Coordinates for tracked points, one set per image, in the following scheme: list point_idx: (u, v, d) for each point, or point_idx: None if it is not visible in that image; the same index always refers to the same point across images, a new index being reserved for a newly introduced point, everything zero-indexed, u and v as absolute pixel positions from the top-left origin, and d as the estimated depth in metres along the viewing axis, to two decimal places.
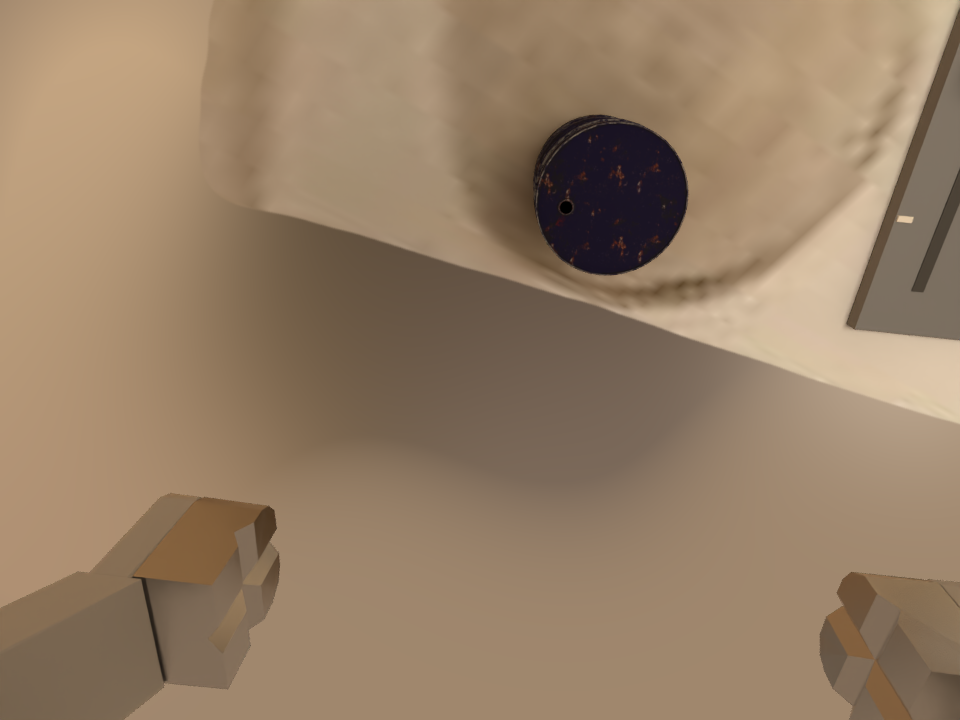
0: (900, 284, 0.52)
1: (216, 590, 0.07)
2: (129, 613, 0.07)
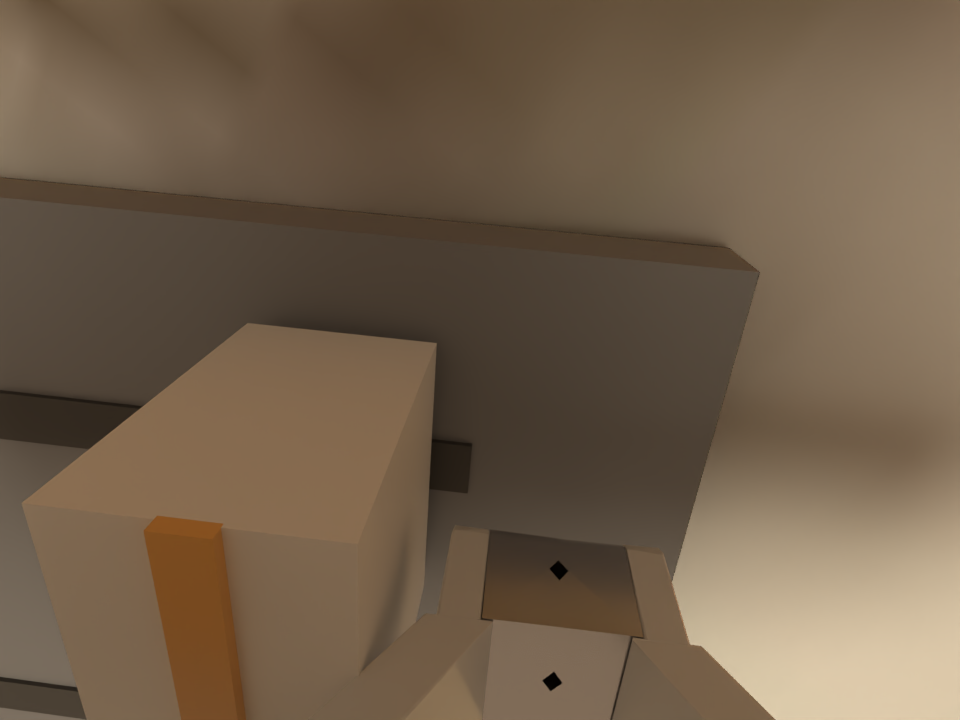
0: None
1: (560, 632, 0.07)
2: (481, 656, 0.07)
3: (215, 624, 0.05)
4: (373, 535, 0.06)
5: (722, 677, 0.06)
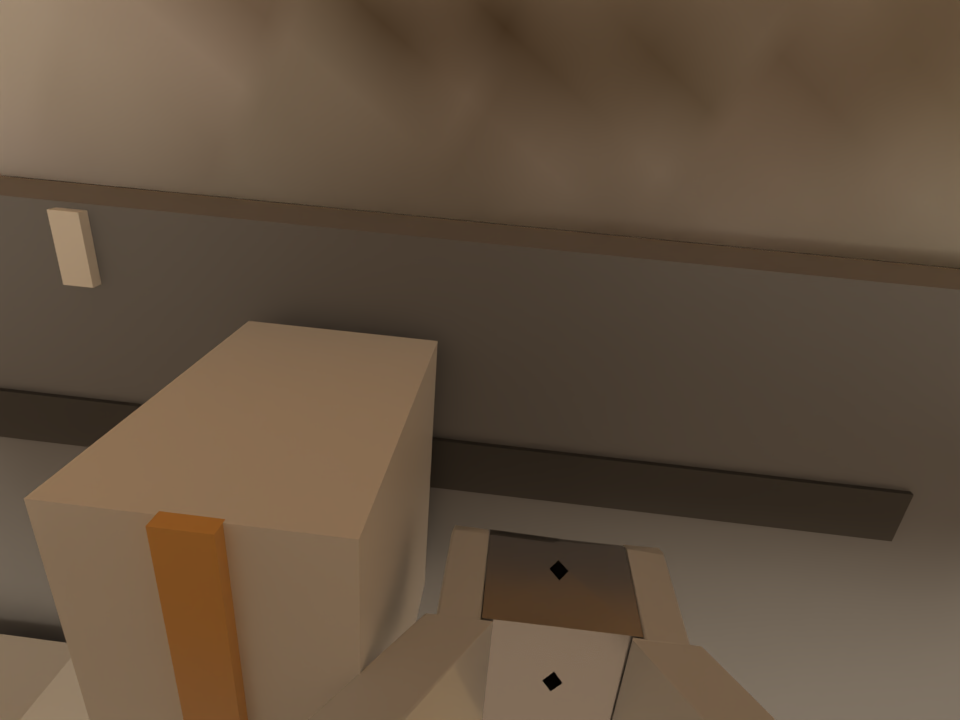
0: None
1: (560, 632, 0.07)
2: (480, 656, 0.07)
3: (216, 621, 0.05)
4: (374, 531, 0.06)
5: (722, 677, 0.06)
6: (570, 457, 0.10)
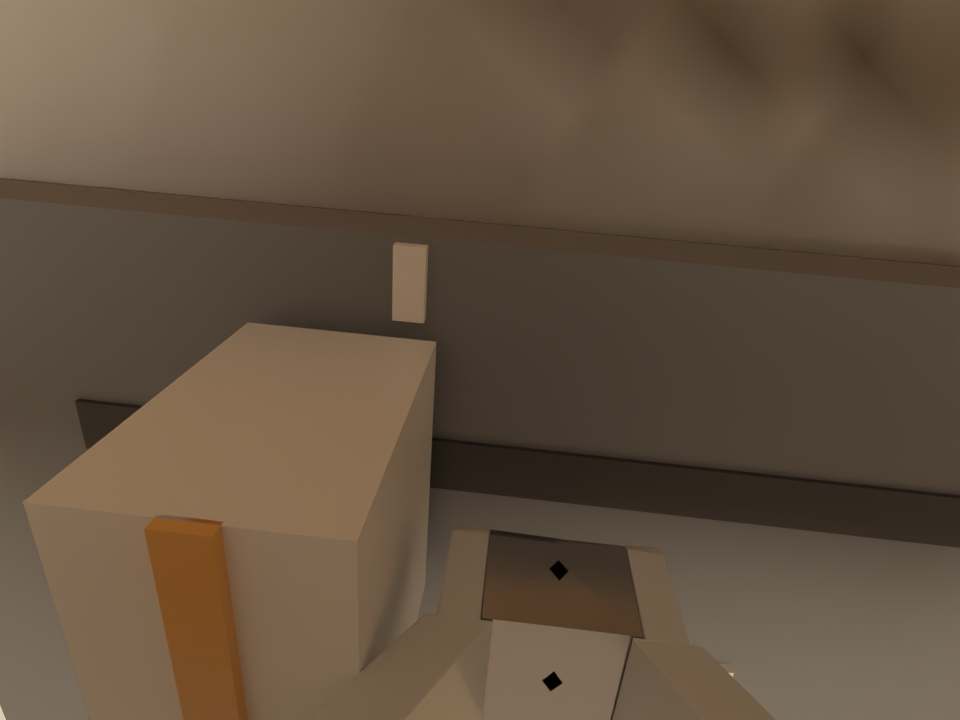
0: (92, 346, 0.10)
1: (560, 631, 0.07)
2: (480, 656, 0.07)
3: (216, 622, 0.05)
4: (373, 532, 0.06)
5: (722, 677, 0.06)
6: (890, 492, 0.10)
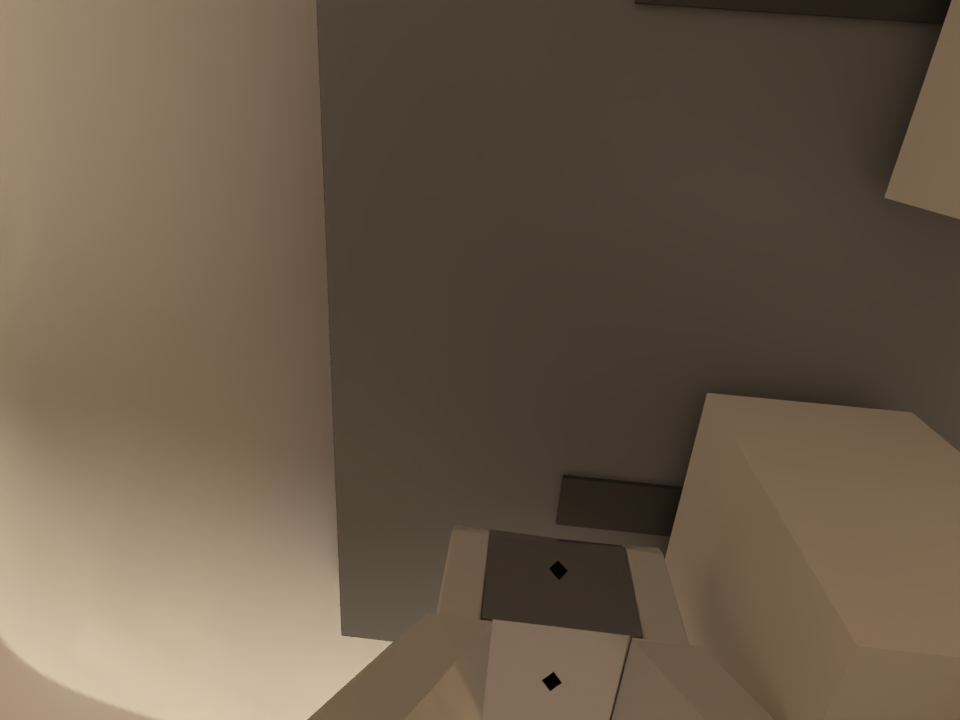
0: None
1: (560, 631, 0.07)
2: (480, 656, 0.07)
3: None
4: None
5: (721, 677, 0.06)
6: None
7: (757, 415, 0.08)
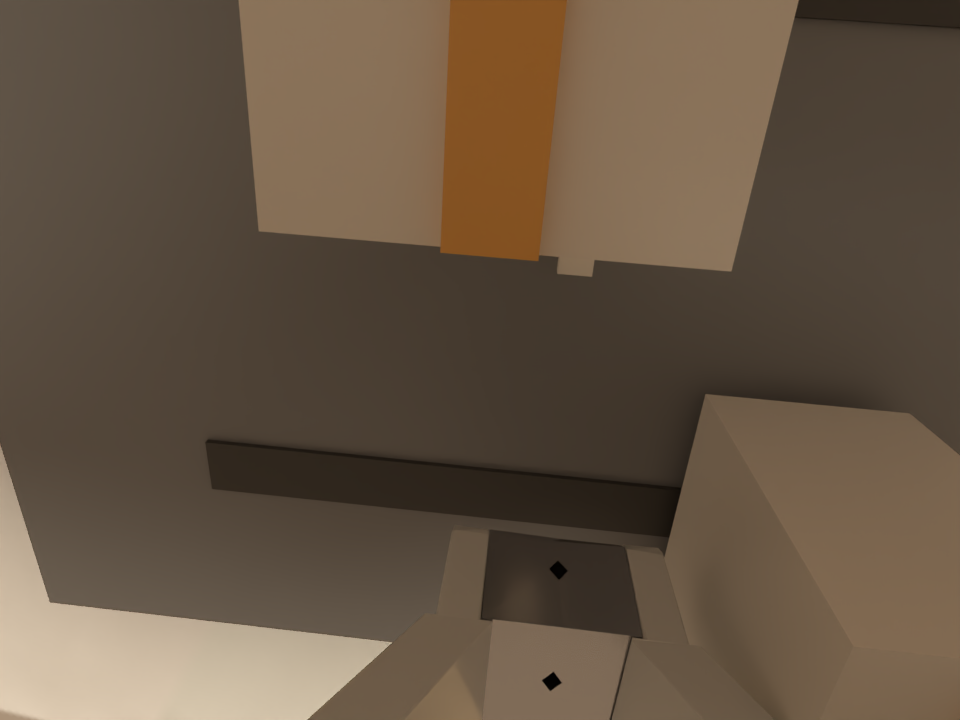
0: None
1: (560, 631, 0.07)
2: (480, 656, 0.07)
3: None
4: None
5: (721, 677, 0.06)
6: None
7: (755, 416, 0.08)
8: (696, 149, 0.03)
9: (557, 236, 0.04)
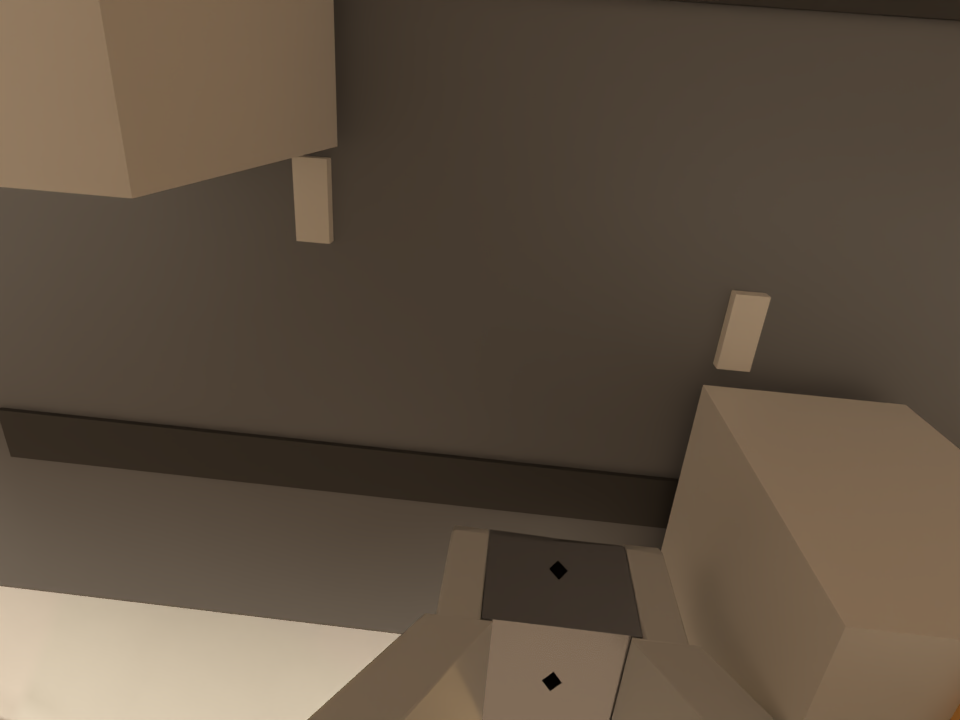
0: None
1: (560, 631, 0.07)
2: (480, 656, 0.07)
3: None
4: None
5: (721, 677, 0.06)
6: None
7: (751, 406, 0.08)
8: (56, 78, 0.04)
9: None
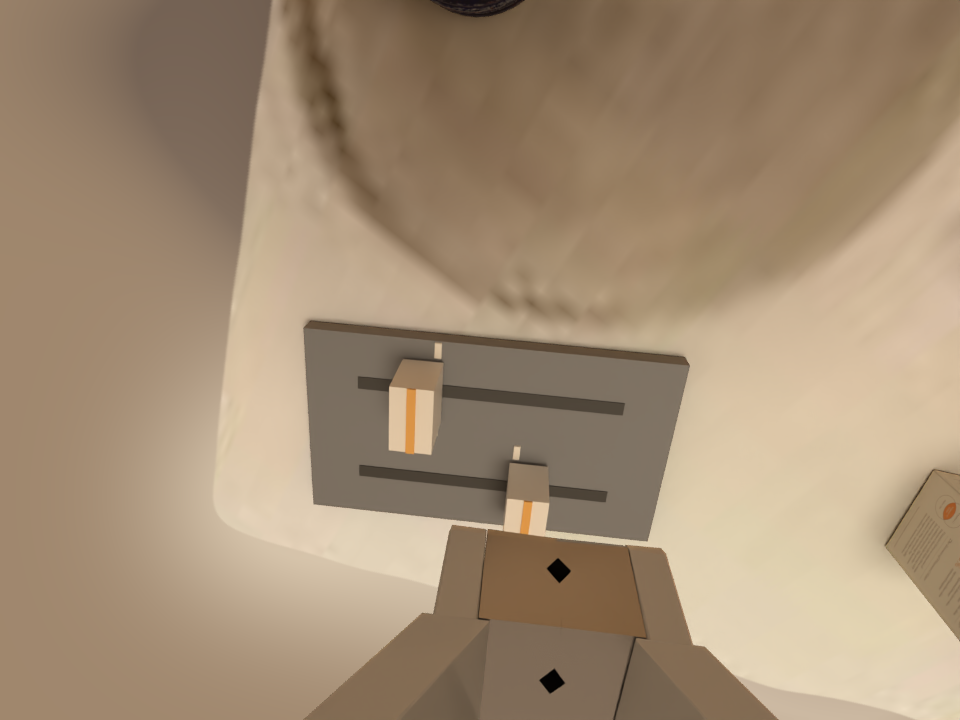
0: (364, 363, 0.44)
1: (557, 631, 0.07)
2: (477, 656, 0.07)
3: (413, 403, 0.39)
4: (435, 392, 0.40)
5: (726, 678, 0.06)
6: (546, 396, 0.44)
7: (516, 467, 0.46)
8: (426, 445, 0.41)
9: (415, 451, 0.41)
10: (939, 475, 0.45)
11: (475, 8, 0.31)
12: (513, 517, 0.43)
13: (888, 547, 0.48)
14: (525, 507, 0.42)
